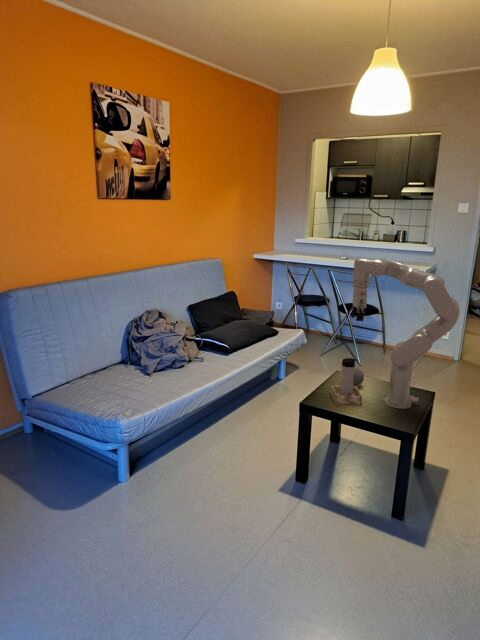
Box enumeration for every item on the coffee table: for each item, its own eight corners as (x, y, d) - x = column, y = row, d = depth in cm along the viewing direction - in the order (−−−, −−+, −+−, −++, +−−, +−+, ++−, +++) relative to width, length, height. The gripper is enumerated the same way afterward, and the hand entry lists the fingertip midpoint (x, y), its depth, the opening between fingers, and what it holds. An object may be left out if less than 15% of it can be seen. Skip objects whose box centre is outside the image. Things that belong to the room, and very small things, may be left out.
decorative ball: (351, 380, 249) (353, 363, 246) (366, 386, 241) (368, 369, 239) (340, 385, 243) (341, 367, 240) (355, 391, 235) (357, 373, 233)
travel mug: (352, 400, 221) (356, 361, 216) (339, 398, 222) (342, 360, 217) (352, 395, 227) (355, 357, 222) (339, 393, 228) (342, 356, 223)
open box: (355, 394, 231) (356, 386, 230) (361, 405, 218) (362, 396, 217) (330, 393, 231) (330, 385, 230) (334, 404, 218) (335, 396, 217)
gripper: (373, 287, 208) (369, 323, 213) (363, 281, 225) (360, 314, 229) (356, 287, 209) (353, 322, 213) (348, 280, 225) (346, 313, 230)
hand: (357, 318), depth 221 cm, fingers open, 9 cm apart
